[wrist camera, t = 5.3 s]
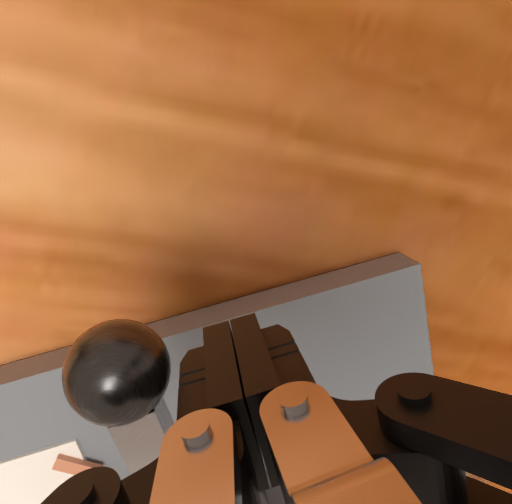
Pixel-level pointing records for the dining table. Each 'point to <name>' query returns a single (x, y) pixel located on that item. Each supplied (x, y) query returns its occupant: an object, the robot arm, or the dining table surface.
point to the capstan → (123, 387)
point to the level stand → (191, 336)
